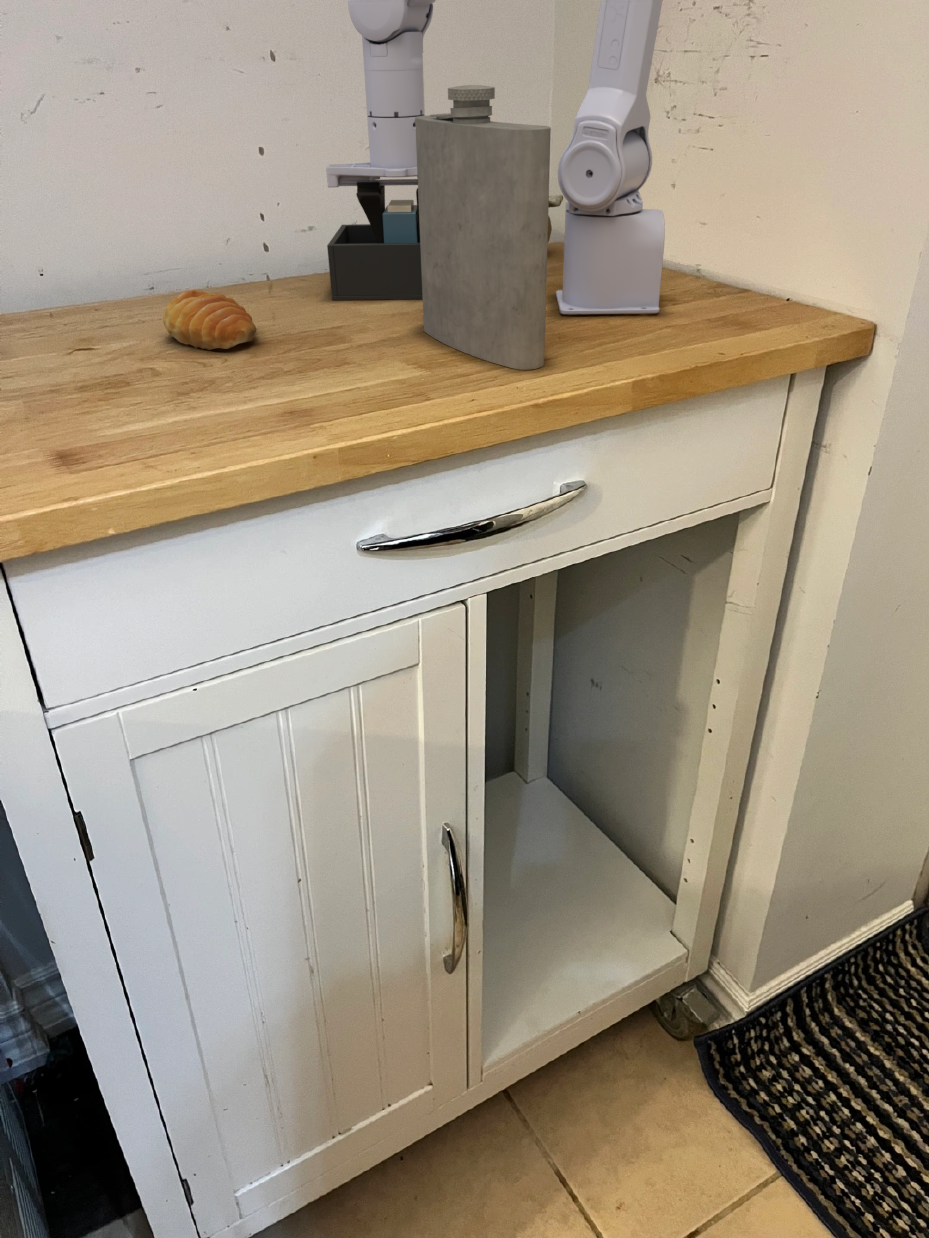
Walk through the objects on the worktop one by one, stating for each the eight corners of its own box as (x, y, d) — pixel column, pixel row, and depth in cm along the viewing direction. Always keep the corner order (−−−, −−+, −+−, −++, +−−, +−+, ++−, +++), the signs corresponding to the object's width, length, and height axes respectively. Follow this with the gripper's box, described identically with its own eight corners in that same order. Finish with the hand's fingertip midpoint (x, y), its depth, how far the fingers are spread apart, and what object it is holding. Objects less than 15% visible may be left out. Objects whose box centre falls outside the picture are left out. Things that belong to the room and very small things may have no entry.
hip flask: (552, 365, 78) (560, 88, 67) (512, 374, 76) (515, 91, 65) (445, 323, 89) (438, 80, 78) (409, 331, 87) (396, 82, 76)
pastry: (277, 342, 84) (271, 299, 82) (212, 360, 81) (204, 315, 78) (220, 323, 90) (214, 282, 88) (157, 339, 86) (148, 296, 84)
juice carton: (421, 273, 103) (418, 198, 99) (418, 284, 99) (415, 206, 95) (390, 274, 103) (386, 199, 99) (386, 285, 99) (382, 207, 95)
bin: (470, 273, 106) (470, 222, 103) (469, 298, 97) (468, 243, 94) (345, 275, 106) (341, 224, 103) (332, 300, 97) (327, 245, 94)
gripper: (316, 120, 89) (330, 269, 97) (468, 118, 89) (470, 267, 96) (327, 114, 95) (339, 254, 103) (469, 111, 95) (471, 252, 102)
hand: (403, 259), depth 100 cm, fingers closed on juice carton, 3 cm apart
